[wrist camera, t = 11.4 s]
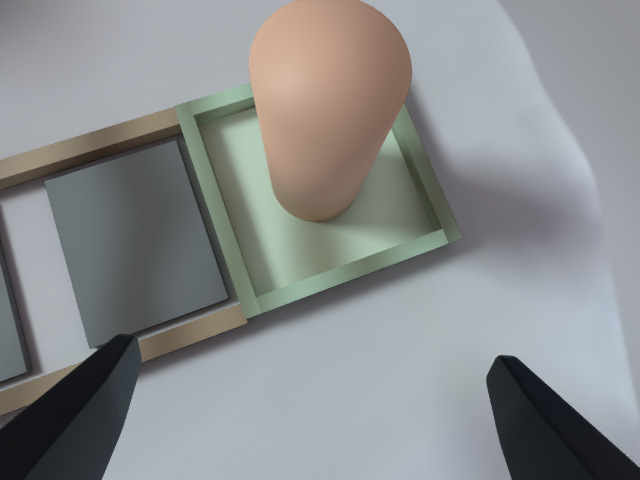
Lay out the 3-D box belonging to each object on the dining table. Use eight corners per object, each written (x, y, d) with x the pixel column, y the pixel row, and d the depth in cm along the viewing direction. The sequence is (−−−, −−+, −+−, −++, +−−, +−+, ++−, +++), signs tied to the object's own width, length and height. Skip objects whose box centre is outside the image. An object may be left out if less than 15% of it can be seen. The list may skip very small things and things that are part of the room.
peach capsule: (312, 240, 21) (327, 175, 11) (252, 175, 21) (214, 57, 11) (377, 182, 22) (444, 73, 12) (318, 120, 22) (334, -34, 12)
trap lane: (-269, 516, 18) (-317, 533, 16) (-301, 263, 19) (-347, 260, 18) (453, 246, 21) (464, 241, 20) (372, 56, 23) (377, 40, 22)
